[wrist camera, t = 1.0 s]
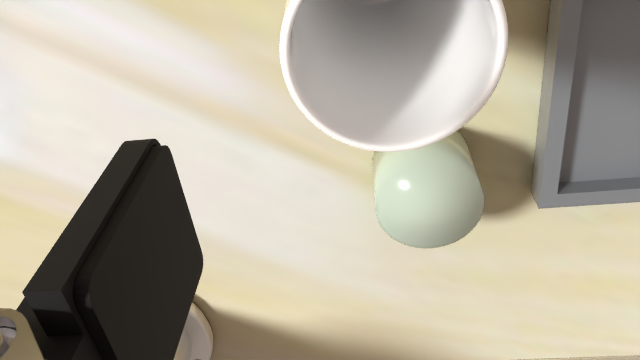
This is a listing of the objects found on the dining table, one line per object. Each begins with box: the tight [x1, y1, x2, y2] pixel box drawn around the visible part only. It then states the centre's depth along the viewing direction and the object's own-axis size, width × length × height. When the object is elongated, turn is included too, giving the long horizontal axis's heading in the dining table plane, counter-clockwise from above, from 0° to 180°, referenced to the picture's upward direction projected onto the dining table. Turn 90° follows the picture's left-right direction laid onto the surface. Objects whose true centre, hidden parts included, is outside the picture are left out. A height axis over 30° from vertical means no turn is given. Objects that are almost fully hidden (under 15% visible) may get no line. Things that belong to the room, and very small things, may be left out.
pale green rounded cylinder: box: [373, 130, 484, 248], centre depth 34 cm, size 6×6×5 cm
